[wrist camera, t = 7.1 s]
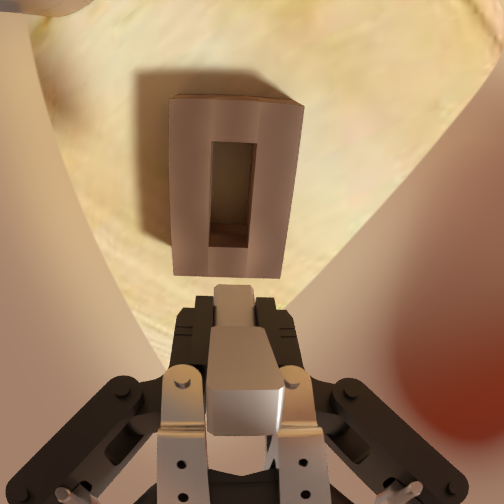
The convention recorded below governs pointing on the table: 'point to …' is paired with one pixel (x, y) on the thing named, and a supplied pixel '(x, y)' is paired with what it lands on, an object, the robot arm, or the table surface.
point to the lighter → (241, 369)
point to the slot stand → (260, 184)
